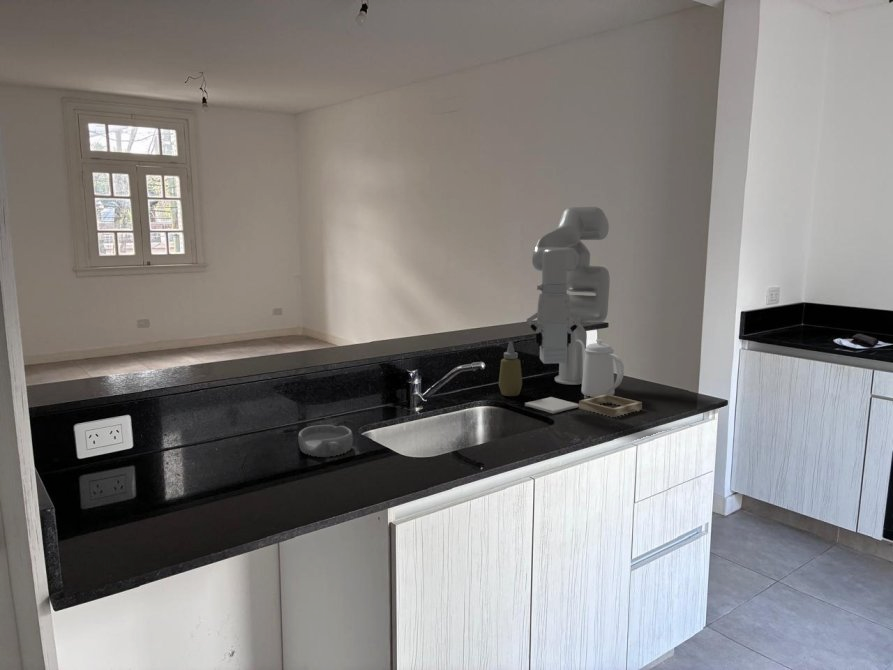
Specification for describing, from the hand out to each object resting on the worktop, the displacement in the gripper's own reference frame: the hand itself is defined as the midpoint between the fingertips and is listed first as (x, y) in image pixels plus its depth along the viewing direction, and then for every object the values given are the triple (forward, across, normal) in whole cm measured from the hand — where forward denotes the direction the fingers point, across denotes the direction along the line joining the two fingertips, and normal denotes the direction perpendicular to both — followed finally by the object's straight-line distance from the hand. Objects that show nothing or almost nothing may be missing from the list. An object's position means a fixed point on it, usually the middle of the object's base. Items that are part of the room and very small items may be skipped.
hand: (553, 345), depth 207 cm
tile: (+19, 0, 0) cm, 19 cm away
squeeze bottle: (+20, -14, +13) cm, 27 cm away
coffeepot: (+20, +16, +17) cm, 30 cm away
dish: (+20, -59, -48) cm, 78 cm away
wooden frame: (+19, +18, -2) cm, 26 cm away
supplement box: (+5, 0, 0) cm, 5 cm away
